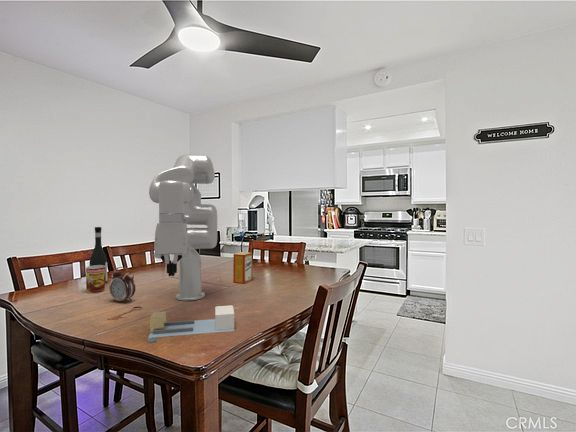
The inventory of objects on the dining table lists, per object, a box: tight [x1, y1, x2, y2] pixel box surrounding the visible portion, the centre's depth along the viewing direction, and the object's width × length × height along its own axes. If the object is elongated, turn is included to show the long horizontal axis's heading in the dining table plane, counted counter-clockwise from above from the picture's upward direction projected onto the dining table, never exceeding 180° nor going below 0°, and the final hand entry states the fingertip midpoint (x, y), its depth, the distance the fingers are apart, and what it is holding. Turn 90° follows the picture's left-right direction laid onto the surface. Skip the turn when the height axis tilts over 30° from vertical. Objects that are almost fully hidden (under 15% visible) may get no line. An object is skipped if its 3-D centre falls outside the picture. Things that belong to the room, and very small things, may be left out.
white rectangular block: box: [214, 305, 235, 330], centre depth 107 cm, size 9×6×5 cm, turn 13°
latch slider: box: [149, 310, 167, 334], centre depth 102 cm, size 5×4×5 cm
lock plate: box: [147, 318, 235, 344], centre depth 105 cm, size 12×26×2 cm, turn 103°
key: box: [107, 306, 143, 321], centre depth 121 cm, size 6×1×15 cm
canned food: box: [85, 265, 106, 295], centre depth 152 cm, size 8×8×12 cm
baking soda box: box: [232, 251, 254, 285], centre depth 174 cm, size 10×6×16 cm
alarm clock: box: [108, 266, 136, 304], centre depth 136 cm, size 11×5×15 cm, turn 70°
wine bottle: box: [89, 226, 108, 284], centre depth 166 cm, size 8×8×30 cm
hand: (171, 275), depth 103 cm, fingers closed
